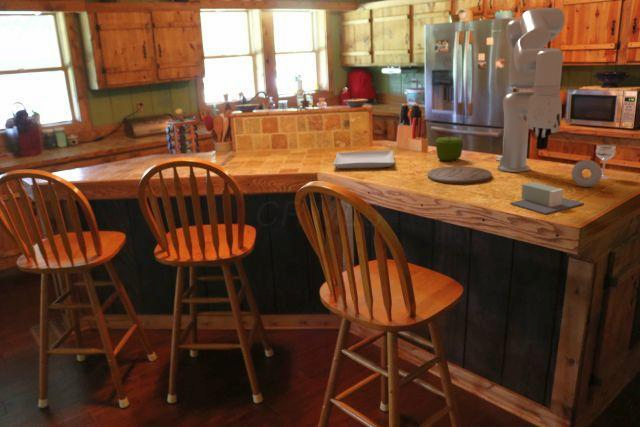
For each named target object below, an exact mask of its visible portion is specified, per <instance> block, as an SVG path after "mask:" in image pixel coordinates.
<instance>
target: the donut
mask: <svg viewBox="0 0 640 427" xmlns="http://www.w3.org/2000/svg"><path fill="white" fill-rule="evenodd" d="M584 170H589V172H590V176H589V177H585V176H584V175H583V171H584ZM602 173H603V169H602V168H601V166H600V165H599V164H598V163H597V161H594V160H591V159H581V160H580V161H578V162H576V163H575V164H574V165H573V167H572V170H571V178H572V180H573V181H574V183H576V185H578V186H579V187H583V188H591V187H593V186H595V185H597V184H598V183H599V182H600V180H602V179H601V176H602Z"/></svg>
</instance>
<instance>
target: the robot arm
mask: <svg viewBox="0 0 640 427" xmlns="http://www.w3.org/2000/svg"><path fill="white" fill-rule="evenodd" d="M564 26H565V14H564V12H563V10H562V9H560V8H559V7H543V8H541V7H539V8H531V9H527V10H526V11H525V12H523V13H522V15H521V16H520V18H519V19H518V18H517V19H513V20H511V21H509V22H508V23H507V25H506V28H505V36H506V42H507V45H508V48H509V66H508V68H509V69H508V85H509V87H510V88H512V89H514V90H515V89H518V90H519V89H520V90H523V89H531V91H516V92H515V91H514V92H510V93H507V94H506V95H504V98H503V100H502V101H503V102H502V108H503V139H502V153H501V154H502V156H500V155H499V156H497V158H496V159H495V161H496V162H499V164H498V165H497V169H498V170H499V171H502V172H507V173H508V172H509V173H522V172H523V173H524V172H528V171H530V168H531V166H530V165H528V164H527V157H528V155H527V154H528V144H529V143H528V142H529V141H528V140H529V131H530V130H532V131H533V132H534V133H535V137H536V150H545V149H546V150H547V148H548V144H549V137H551V135H552V134H554V133H558V132H560V128H559V127H561V123H562V114H563V112H562V109H563V107H562V106H563V105H562V96H561V95H560V94H561V93H560V91H561V83H562V82H561V81H562V74H563V72H562V71H563V70H562V69H563V62H564V53H563V51H562V50H560V48H556V47H550V48H549V47H547V48H544V47H546V46H547V45H548V44H549V42H551V41H553V40H554V39H556V37H557V36H558V35H559V34H560V33H561V32H562V31H563V29H564ZM523 117H526V119H525V120H524V118H523ZM529 129H530V130H529Z"/></svg>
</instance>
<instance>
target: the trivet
mask: <svg viewBox="0 0 640 427" xmlns="http://www.w3.org/2000/svg"><path fill="white" fill-rule="evenodd" d="M492 175H493V173H492V172H491V171H490V170H487V169H485V168H482V167H481V168H480V167H475V166H464V165H463V166H461V165H458V166H454V165H453V166H442V167H437V168H433V169H431V170H429V171H428V172H427V178H428V179H429V180H430V181H432V182H435V183H439V184H445V185H456V184H457V185H464V184H465V186H466V185H467V186H468V185H477V184H482V183H486V182H489V181H490V180H491V179H492V177H493V176H492Z"/></svg>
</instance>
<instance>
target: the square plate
mask: <svg viewBox="0 0 640 427" xmlns="http://www.w3.org/2000/svg"><path fill="white" fill-rule="evenodd" d="M395 163H396V162H395V158H394V151H393V150H365V151H364V150H363V151H362V150H360V151H359V150H357V151H344V152H337V153H336V157H335V159H334V161H333V166H334V167H335V168H337V169H345V170H346V169H347V170H351V169H352V170H353V169H354V170H357V169H382V168H388V167H392V166H393V165H394V164H395Z"/></svg>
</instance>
